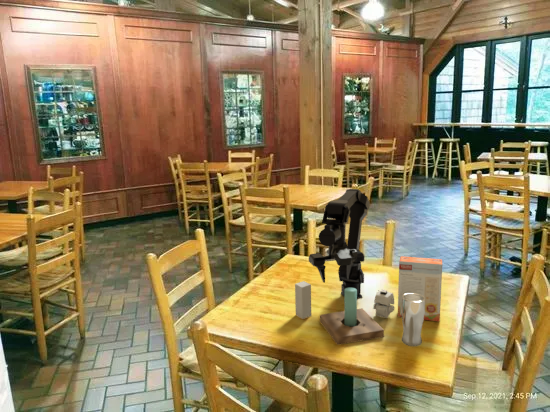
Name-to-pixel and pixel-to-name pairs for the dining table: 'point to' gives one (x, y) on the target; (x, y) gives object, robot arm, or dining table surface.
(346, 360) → the dining table surface
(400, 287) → the cracker box
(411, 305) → the beer glass
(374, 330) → the socket board
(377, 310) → the white blocky figure
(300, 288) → the square dowel
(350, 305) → the round dowel
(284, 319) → the dining table surface
